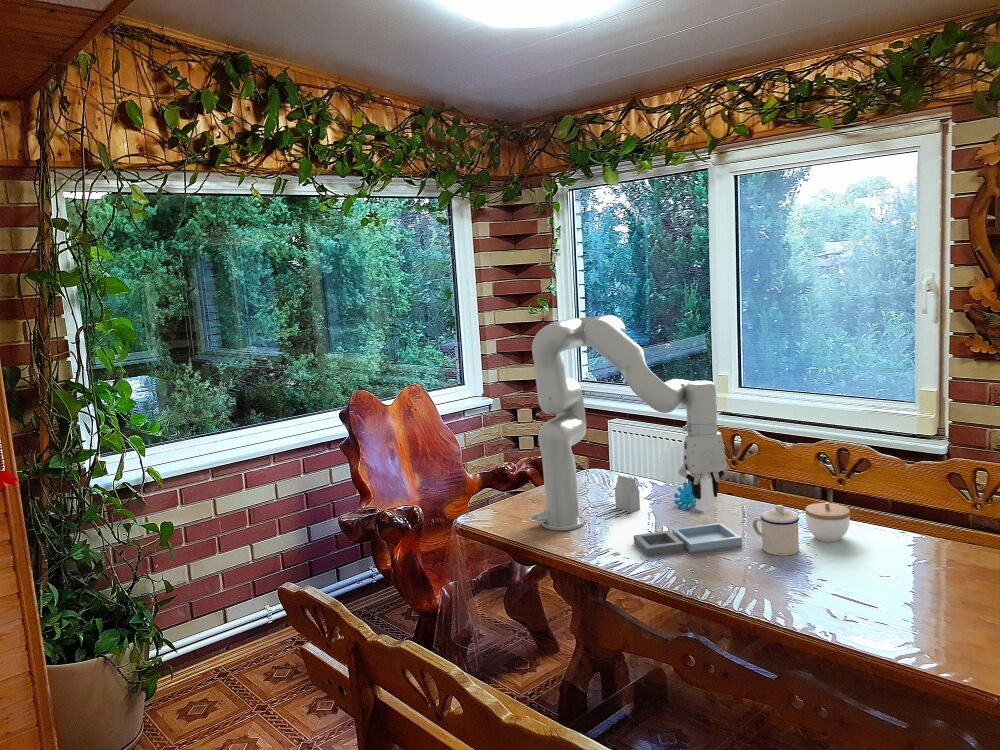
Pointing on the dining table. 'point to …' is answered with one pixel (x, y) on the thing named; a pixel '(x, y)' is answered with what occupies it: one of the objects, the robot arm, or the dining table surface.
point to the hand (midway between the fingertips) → (705, 495)
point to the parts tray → (707, 537)
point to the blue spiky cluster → (685, 496)
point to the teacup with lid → (778, 531)
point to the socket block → (671, 547)
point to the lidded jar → (827, 521)
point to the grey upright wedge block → (627, 494)
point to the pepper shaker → (706, 493)
